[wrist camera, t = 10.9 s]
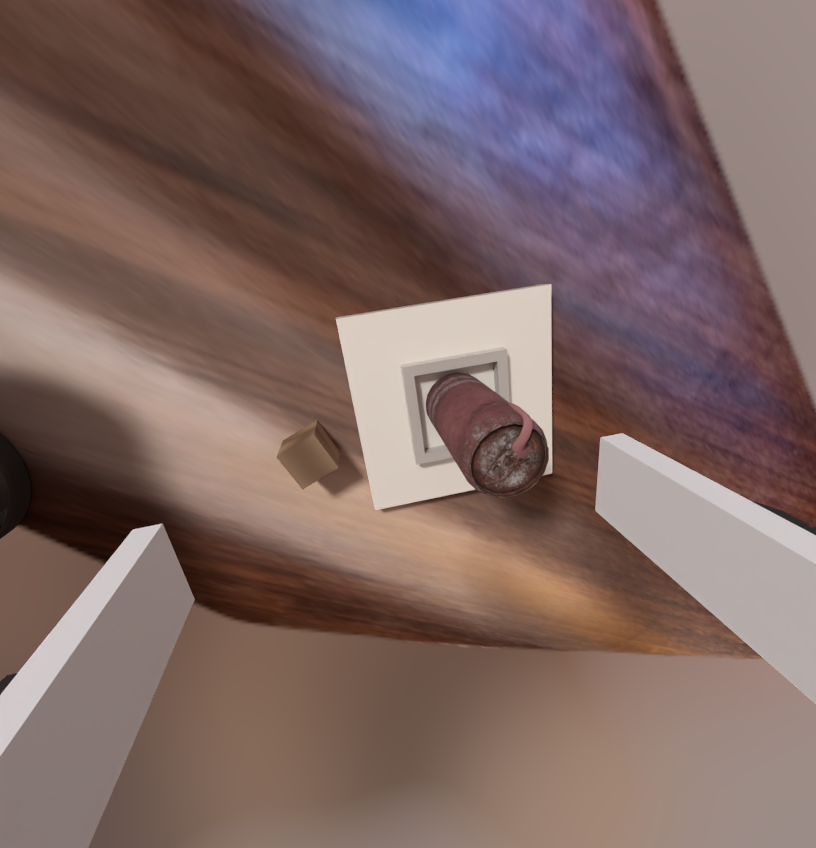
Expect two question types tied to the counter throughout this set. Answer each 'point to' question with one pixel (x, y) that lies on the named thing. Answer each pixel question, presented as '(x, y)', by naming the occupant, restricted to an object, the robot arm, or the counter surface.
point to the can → (487, 436)
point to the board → (428, 362)
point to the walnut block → (309, 455)
